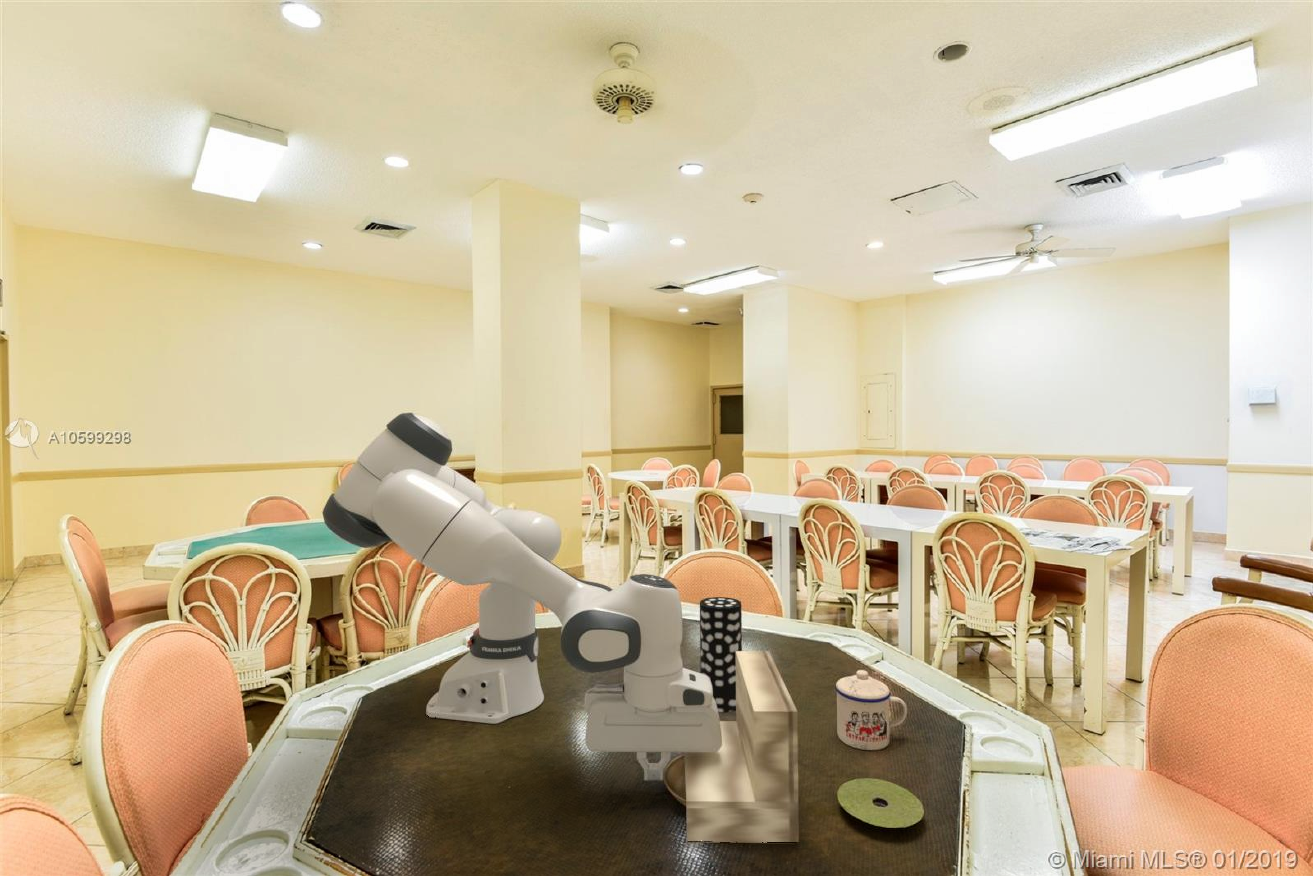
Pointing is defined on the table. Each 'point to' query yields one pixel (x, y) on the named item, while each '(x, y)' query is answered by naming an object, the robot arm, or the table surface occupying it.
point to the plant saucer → (676, 778)
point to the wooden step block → (748, 764)
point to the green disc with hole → (880, 803)
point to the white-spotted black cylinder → (721, 647)
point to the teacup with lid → (865, 711)
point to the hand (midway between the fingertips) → (653, 778)
